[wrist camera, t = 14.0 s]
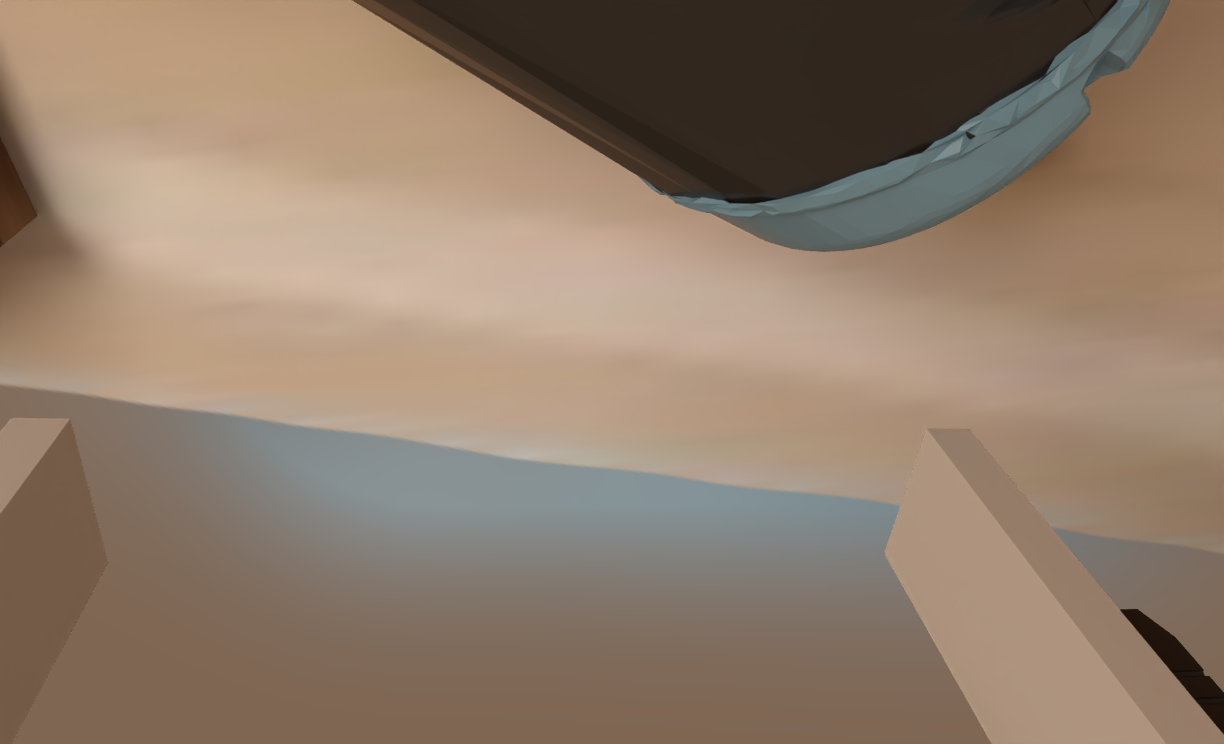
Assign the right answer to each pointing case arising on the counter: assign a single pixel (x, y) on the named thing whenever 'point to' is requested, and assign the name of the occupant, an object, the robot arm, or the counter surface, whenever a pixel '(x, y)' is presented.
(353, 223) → the counter surface
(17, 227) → the dock
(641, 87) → the robot arm
